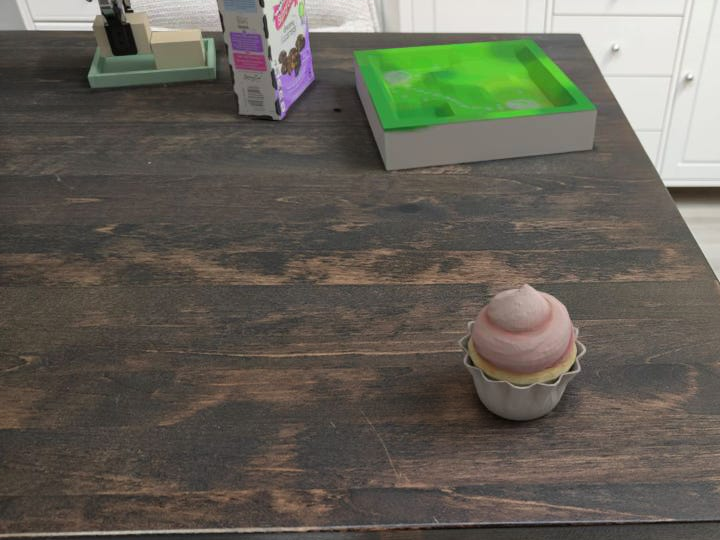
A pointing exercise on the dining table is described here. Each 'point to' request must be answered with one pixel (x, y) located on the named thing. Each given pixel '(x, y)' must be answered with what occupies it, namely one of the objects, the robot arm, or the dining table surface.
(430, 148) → the tray
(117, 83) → the frame
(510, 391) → the cupcake
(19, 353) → the dining table surface
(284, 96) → the candy box
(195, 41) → the seated pad
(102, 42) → the loose pad
